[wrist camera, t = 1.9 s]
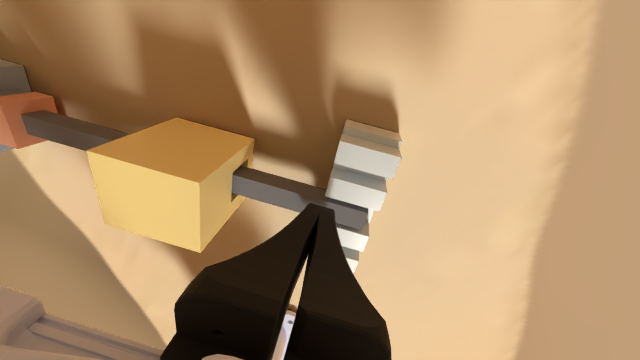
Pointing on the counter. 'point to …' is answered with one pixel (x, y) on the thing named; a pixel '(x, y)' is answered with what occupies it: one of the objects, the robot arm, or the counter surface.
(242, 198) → the sleeve
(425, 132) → the counter surface
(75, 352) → the robot arm
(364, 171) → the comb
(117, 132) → the red-tipped gray rod
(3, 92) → the block
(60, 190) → the counter surface
